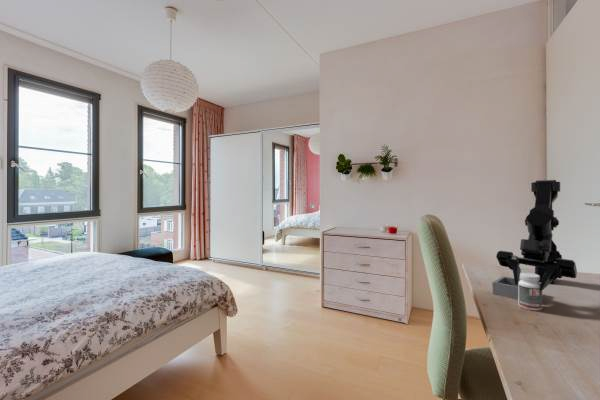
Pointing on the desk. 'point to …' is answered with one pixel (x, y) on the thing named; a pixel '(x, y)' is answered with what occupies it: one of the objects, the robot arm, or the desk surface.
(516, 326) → the desk surface
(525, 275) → the pill bottle
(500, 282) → the bottle holder
